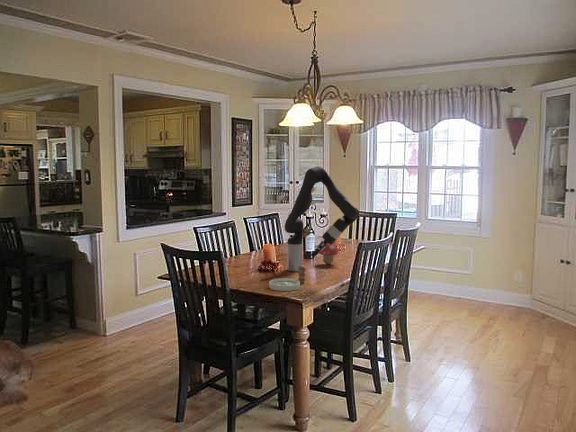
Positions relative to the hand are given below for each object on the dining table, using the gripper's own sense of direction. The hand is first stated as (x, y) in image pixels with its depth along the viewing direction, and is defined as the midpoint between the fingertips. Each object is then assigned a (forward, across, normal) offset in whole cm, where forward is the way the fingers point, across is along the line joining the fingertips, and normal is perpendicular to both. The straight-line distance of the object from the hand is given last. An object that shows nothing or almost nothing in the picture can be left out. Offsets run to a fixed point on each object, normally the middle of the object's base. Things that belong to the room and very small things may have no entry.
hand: (313, 255), depth 288 cm
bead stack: (+17, 0, +5) cm, 18 cm away
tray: (+22, +10, 0) cm, 24 cm away
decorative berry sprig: (+31, -15, -12) cm, 36 cm away
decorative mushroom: (+9, -55, +10) cm, 57 cm away
